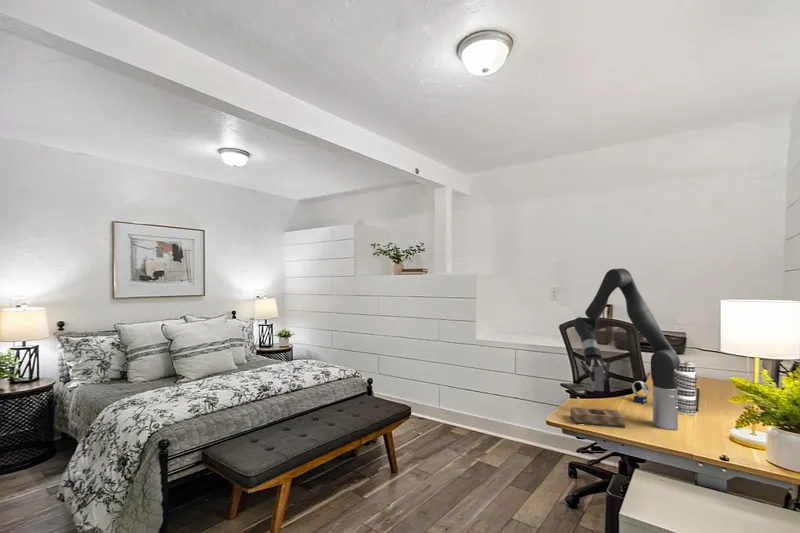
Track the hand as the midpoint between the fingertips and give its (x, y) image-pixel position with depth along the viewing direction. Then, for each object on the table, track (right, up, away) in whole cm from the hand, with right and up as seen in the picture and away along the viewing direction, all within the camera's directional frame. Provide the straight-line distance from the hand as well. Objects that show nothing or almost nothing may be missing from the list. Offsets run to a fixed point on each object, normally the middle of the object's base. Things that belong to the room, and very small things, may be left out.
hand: (599, 380), depth 188 cm
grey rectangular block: (0, -5, +2) cm, 5 cm away
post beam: (-5, -16, -8) cm, 19 cm away
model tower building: (+46, -18, +8) cm, 51 cm away
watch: (+34, -19, +24) cm, 46 cm away
